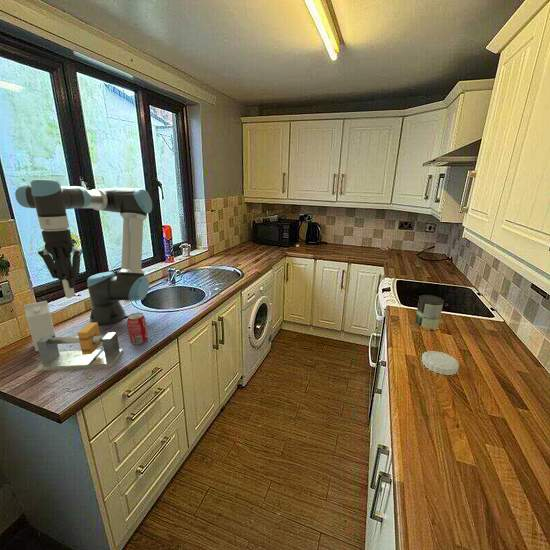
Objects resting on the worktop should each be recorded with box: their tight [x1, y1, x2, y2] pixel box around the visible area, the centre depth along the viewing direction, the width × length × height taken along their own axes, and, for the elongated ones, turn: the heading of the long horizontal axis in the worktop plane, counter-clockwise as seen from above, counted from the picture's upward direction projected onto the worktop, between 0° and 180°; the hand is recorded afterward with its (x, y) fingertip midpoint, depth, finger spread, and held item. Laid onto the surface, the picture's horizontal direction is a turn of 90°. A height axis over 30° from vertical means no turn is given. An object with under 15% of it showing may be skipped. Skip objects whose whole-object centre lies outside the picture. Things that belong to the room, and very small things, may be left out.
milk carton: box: [23, 300, 59, 352], centre depth 115 cm, size 7×7×19 cm
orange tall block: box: [77, 322, 103, 355], centre depth 105 cm, size 3×8×9 cm, turn 6°
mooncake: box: [420, 350, 460, 376], centre depth 105 cm, size 12×12×4 cm
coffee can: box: [414, 294, 445, 329], centre depth 135 cm, size 10×10×14 cm
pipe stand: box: [37, 331, 124, 372], centre depth 106 cm, size 25×10×10 cm, turn 96°
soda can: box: [126, 312, 149, 345], centre depth 119 cm, size 7×7×12 cm
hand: (70, 296), depth 100 cm, fingers closed
